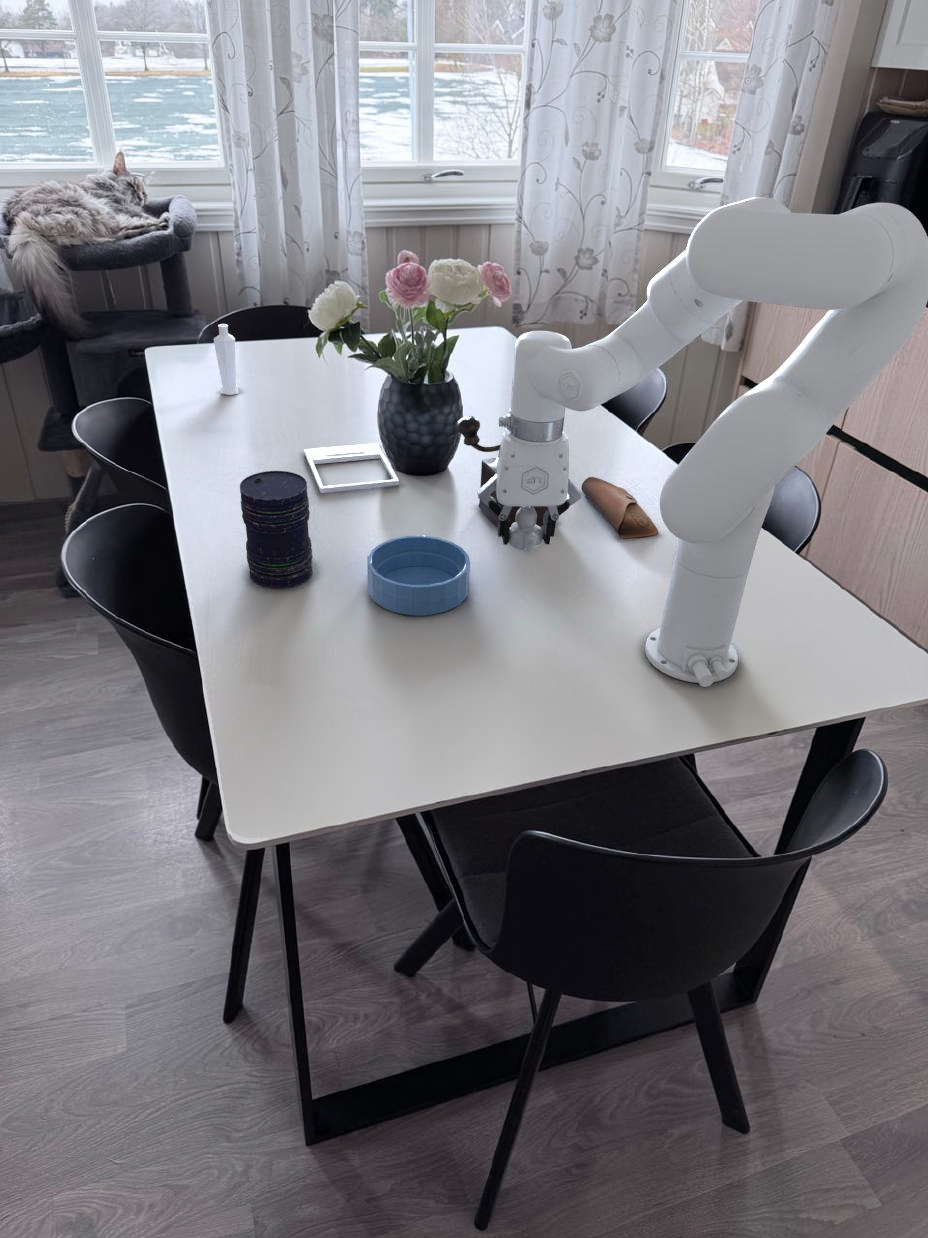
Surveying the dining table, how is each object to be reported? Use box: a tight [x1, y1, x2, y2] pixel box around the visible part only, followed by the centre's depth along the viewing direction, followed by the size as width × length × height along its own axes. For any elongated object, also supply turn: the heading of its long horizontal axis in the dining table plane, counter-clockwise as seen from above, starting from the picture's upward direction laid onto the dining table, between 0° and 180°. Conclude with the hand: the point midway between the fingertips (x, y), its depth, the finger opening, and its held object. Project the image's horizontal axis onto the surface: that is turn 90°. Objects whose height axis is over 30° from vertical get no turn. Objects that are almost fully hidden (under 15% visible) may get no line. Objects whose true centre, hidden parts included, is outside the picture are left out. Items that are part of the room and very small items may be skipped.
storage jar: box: [239, 470, 313, 590], centre depth 134 cm, size 10×10×15 cm
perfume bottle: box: [213, 323, 240, 396], centre depth 198 cm, size 5×4×15 cm
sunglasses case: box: [580, 476, 659, 540], centre depth 158 cm, size 18×7×7 cm
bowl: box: [366, 535, 471, 616], centre depth 134 cm, size 15×15×5 cm
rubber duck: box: [508, 506, 544, 552], centre depth 132 cm, size 5×7×8 cm
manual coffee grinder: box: [456, 415, 548, 528], centre depth 151 cm, size 16×11×18 cm
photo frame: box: [303, 442, 400, 494], centre depth 170 cm, size 15×1×18 cm
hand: (525, 539), depth 133 cm, fingers closed on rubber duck, 5 cm apart
